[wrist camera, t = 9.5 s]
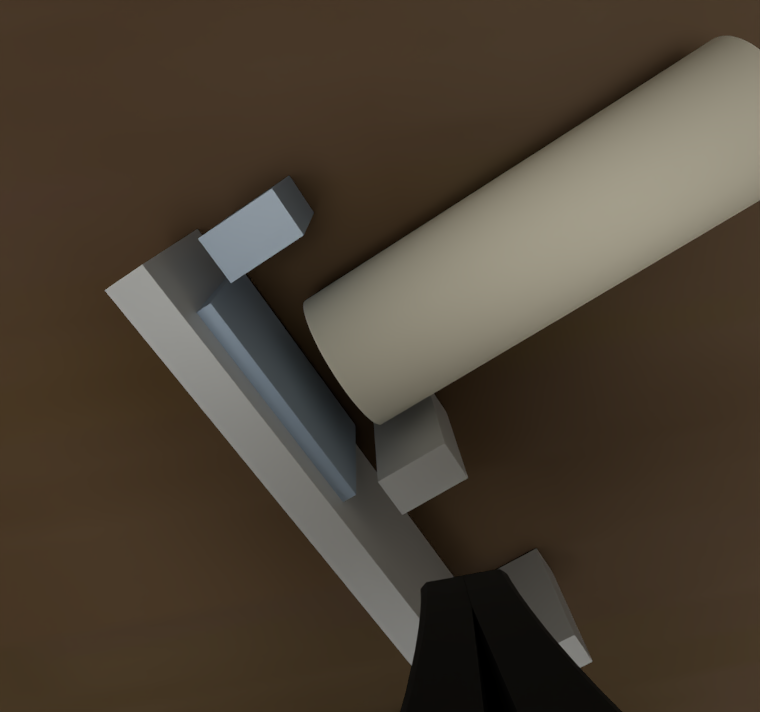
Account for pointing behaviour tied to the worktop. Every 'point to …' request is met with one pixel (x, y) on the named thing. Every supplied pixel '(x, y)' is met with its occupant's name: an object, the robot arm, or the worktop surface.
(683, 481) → the worktop surface
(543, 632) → the robot arm
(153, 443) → the worktop surface
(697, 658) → the worktop surface
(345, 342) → the tall cream cylinder
